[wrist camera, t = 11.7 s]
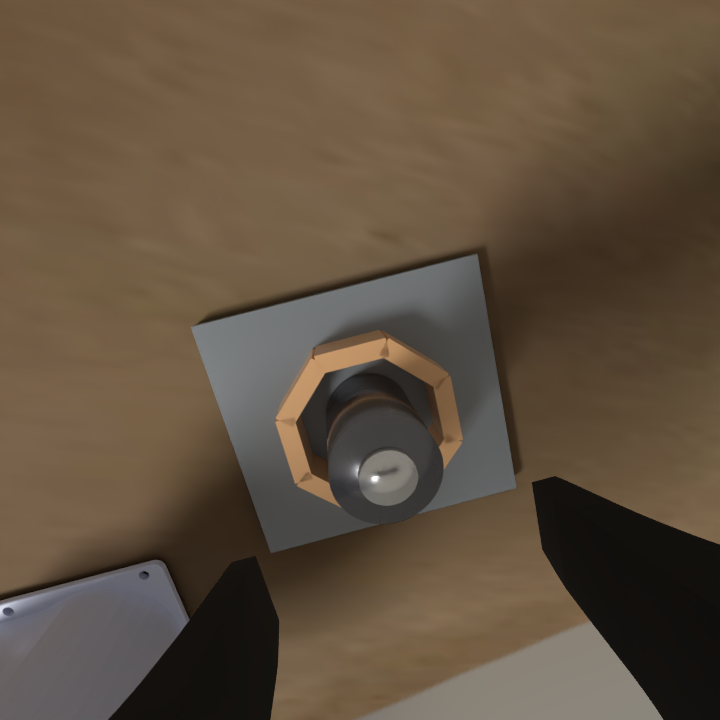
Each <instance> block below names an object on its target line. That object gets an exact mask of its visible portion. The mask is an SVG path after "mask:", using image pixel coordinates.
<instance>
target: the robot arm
mask: <svg viewBox="0 0 720 720" xmlns="http://www.w3.org/2000/svg"><path fill="white" fill-rule="evenodd" d="M532 486H533V492H534V499H535V505H536V512H537V518H538V524H539V531H540V537H541V544H542V550H543V551H544V553H545V555H546V556H547V558H548V560H549V562H550V563H551V565H552V567H553V568H554V570H555V572H556V573H557V575H558V577H559V578H560V580H561V581H562V583H563V585H564V586H565V588H566V589H567V590H568V592H569V593H570V595H571V596H572V597H573V599H574V600H575V601H576V602H577V604H578V605H579V606H580V608H581V609H582V610H583V612H584V613H585V614H586V616H587V617H588V618H589V620H590V621H591V622H592V623H593V625H594V626H595V627H596V629H597V630H598V631H599V633H600V634H601V635H602V636H603V638H604V639H605V640H606V642H607V643H608V644H609V646H610V647H611V648H612V649H613V651H614V652H615V653H616V655H617V656H618V657H619V659H620V660H621V661H622V662H623V664H624V665H625V666H626V668H627V669H628V670H629V671H630V673H631V674H632V675H633V676H634V678H635V679H636V681H637V682H638V683H639V685H640V686H641V688H642V689H643V690H644V692H645V693H646V695H647V696H648V697H649V699H650V700H651V701H652V703H653V704H654V706H655V707H656V709H657V710H658V712H659V713H660V715H661V716H662V718H663V720H720V544H716V543H714V542H711V541H708V540H705V539H702V538H699V537H697V536H694V535H691V534H689V533H686V532H684V531H681V530H678V529H676V528H673V527H671V526H668V525H665V524H663V523H660V522H658V521H656V520H653V519H651V518H648V517H646V516H643V515H641V514H639V513H636V512H634V511H632V510H629V509H627V508H625V507H623V506H620V505H618V504H616V503H614V502H611V501H609V500H607V499H605V498H603V497H601V496H598V495H596V494H594V493H592V492H590V491H587V490H585V489H583V488H581V487H579V486H577V485H574V484H572V483H570V482H568V481H565V480H563V479H561V478H558V477H556V476H554V477H550V478H546V479H543V480H539V481H535V482H532ZM142 571H146V572H148V573H149V574H145V573H143V572H142ZM11 608H12V609H11ZM278 647H279V619H278V616H277V613H276V611H275V608H274V605H273V603H272V600H271V597H270V594H269V592H268V589H267V586H266V583H265V581H264V578H263V575H262V572H261V570H260V567H259V564H258V562H257V559H256V556H254V557H250V558H246V559H243V560H239V561H235V562H232V563H231V564H230V565H229V567H228V568H227V569H226V571H225V572H224V573H223V575H222V576H221V577H220V579H219V580H218V582H217V583H216V584H215V586H214V587H213V588H212V590H211V591H210V593H209V594H208V595H207V597H206V598H205V600H204V601H203V602H202V604H201V605H200V606H199V608H198V609H197V611H196V612H195V613H194V615H193V616H192V617H191V619H190V620H189V618H188V615H187V613H186V611H185V608H184V606H183V604H182V601H181V599H180V597H179V595H178V592H177V590H176V588H175V585H174V583H173V581H172V578H171V576H170V574H169V572H168V569H167V567H166V565H165V564H164V563H163V562H162V561H160V560H152V561H148V562H144V563H140V564H136V565H133V566H129V567H125V568H121V569H118V570H114V571H110V572H106V573H103V574H99V575H95V576H91V577H87V578H84V579H80V580H76V581H72V582H69V583H65V584H61V585H57V586H54V587H50V588H46V589H42V590H38V591H35V592H31V593H27V594H23V595H20V596H16V597H12V598H8V599H5V600H1V601H0V720H270V718H271V711H272V704H273V697H274V690H275V682H276V675H277V667H278Z"/></svg>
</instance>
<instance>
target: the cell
mask: <svg viewBox="0 0 720 720" xmlns="http://www.w3.org/2000/svg"><path fill="white" fill-rule="evenodd" d="M326 431H327V453H328V475H329V484H330V489H331V491H332V494H333V496H334V498H335V500H336V501H337V503H338V504H339V505H340V506H341V507H342V508H343V509H344V510H345V511H346V512H347V513H348V514H350V515H351V516H353V517H355V518H357V519H359V520H361V521H364V522H368V523H374V524H391V523H396V522H400V521H403V520H406V519H408V518H410V517H413V516H414V515H416V514H418V513H419V512H420V511H422V510H423V509H424V508H425V507H426V506H427V505H428V504H429V503H430V502H431V501H432V500H433V498H434V497H435V495H436V494H437V492H438V490H439V488H440V485H441V482H442V479H443V472H444V464H443V457H442V454H441V451H440V449H439V446H438V444H437V443H436V441H435V440H434V438H433V437H432V435H431V433H430V432H429V430H428V429H427V427H426V426H425V424H424V422H423V421H422V419H421V418H420V416H419V415H418V413H417V411H416V410H415V408H414V407H413V405H412V404H411V402H410V400H409V399H408V397H407V396H406V394H405V393H404V391H403V389H402V388H401V387H400V386H399V385H398V384H397V383H396V382H395V381H393V380H392V379H390V378H388V377H386V376H383V375H380V374H375V373H363V374H358V375H355V376H352V377H350V378H348V379H346V380H345V381H343V382H342V383H341V384H340V385H338V387H337V388H336V389H335V390H334V391H333V393H332V394H331V396H330V398H329V400H328V403H327V407H326Z"/></svg>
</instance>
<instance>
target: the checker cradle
mask: <svg viewBox="0 0 720 720" xmlns="http://www.w3.org/2000/svg"><path fill="white" fill-rule="evenodd" d="M191 329H192V332H193V335H194V337H195V340H196V343H197V346H198V349H199V352H200V354H201V357H202V360H203V363H204V366H205V368H206V371H207V374H208V377H209V380H210V383H211V385H212V388H213V391H214V394H215V397H216V400H217V402H218V405H219V408H220V411H221V414H222V417H223V419H224V422H225V425H226V428H227V431H228V433H229V436H230V439H231V442H232V445H233V448H234V450H235V453H236V456H237V459H238V462H239V465H240V467H241V470H242V473H243V476H244V479H245V481H246V484H247V487H248V490H249V493H250V496H251V498H252V501H253V504H254V507H255V510H256V513H257V515H258V518H259V521H260V524H261V527H262V530H263V532H264V535H265V538H266V541H267V544H268V546H269V549H270V552H271V553H274V552H278V551H281V550H285V549H289V548H293V547H296V546H300V545H304V544H308V543H311V542H315V541H319V540H323V539H327V538H330V537H334V536H338V535H342V534H345V533H349V532H353V531H357V530H360V529H364V528H368V527H372V526H375V525H379V524H374V523H368V522H364V521H361V520H359V519H357V518H355V517H353V516H351V515H350V514H348V513H347V512H346V511H345V510H344V509H343V508H342V507H341V506H340V505H339V504H338V503H337V501H336V500H335V498H334V496H333V494H332V491H331V489H330V484H329V475H328V453H327V431H326V407H327V403H328V400H329V398H330V396H331V394H332V393H333V391H334V390H335V389H336V388H337V387H338V385H340V384H341V383H342V382H343V381H345V380H346V379H348V378H350V377H352V376H355V375H358V374H363V373H375V374H380V375H383V376H386V377H388V378H390V379H392V380H393V381H395V382H396V383H397V384H398V385H399V386H400V387H401V388H402V389H403V391H404V393H405V394H406V396H407V397H408V399H409V400H410V402H411V404H412V405H413V407H414V408H415V410H416V411H417V413H418V415H419V416H420V418H421V419H422V421H423V422H424V424H425V426H426V427H427V429H428V430H429V432H430V433H431V435H432V437H433V438H434V440H435V441H436V443H437V444H438V446H439V449H440V451H441V454H442V457H443V464H444V472H443V479H442V482H441V485H440V488H439V490H438V492H437V494H436V495H435V497H434V498H433V500H432V501H431V502H430V503H429V504H428V505H427V506H426V507H425V508H424V509H423V510H422V511H420V512H419V513H418V514H420V513H424V512H428V511H432V510H435V509H439V508H443V507H447V506H450V505H454V504H458V503H462V502H465V501H469V500H473V499H477V498H480V497H484V496H488V495H492V494H495V493H499V492H503V491H507V490H511V489H514V488H516V482H515V476H514V470H513V464H512V458H511V452H510V446H509V440H508V434H507V428H506V422H505V416H504V410H503V404H502V398H501V392H500V386H499V380H498V374H497V368H496V362H495V356H494V350H493V344H492V338H491V332H490V326H489V320H488V314H487V308H486V302H485V296H484V290H483V284H482V278H481V272H480V266H479V260H478V254H470V255H466V256H462V257H459V258H455V259H451V260H447V261H443V262H439V263H435V264H431V265H427V266H423V267H419V268H415V269H411V270H408V271H404V272H400V273H396V274H392V275H388V276H384V277H380V278H376V279H372V280H368V281H364V282H360V283H356V284H353V285H349V286H345V287H341V288H337V289H333V290H329V291H325V292H321V293H317V294H313V295H309V296H305V297H302V298H298V299H294V300H290V301H286V302H282V303H278V304H274V305H270V306H266V307H262V308H258V309H254V310H251V311H247V312H243V313H239V314H235V315H231V316H227V317H223V318H219V319H215V320H211V321H207V322H203V323H200V324H196V325H194V326H192V327H191ZM416 515H417V514H416Z"/></svg>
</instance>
